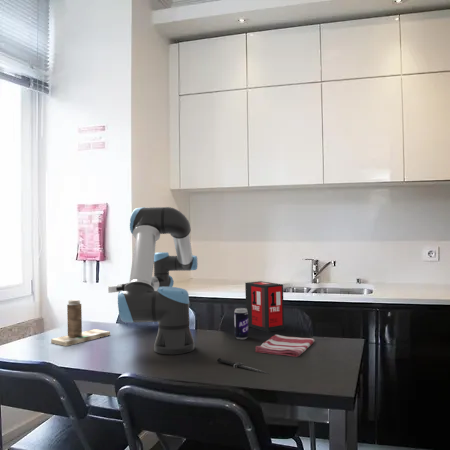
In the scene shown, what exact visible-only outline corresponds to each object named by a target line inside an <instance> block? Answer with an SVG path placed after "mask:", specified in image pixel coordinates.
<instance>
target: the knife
mask: <svg viewBox="0 0 450 450" xmlns="http://www.w3.org/2000/svg"><path fill="white" fill-rule="evenodd" d="M216 359H217V362H218V363H223V364H227V365H230V366H233V368H234V369H236V368H241V369H245V370H249V371H252V372H256V373H260V374H266V375H270V373H269V372H267V371H263V370H260V369H257V368H254V367H252V366H251V367H250V366H246V365H244V362H233V361H230V360H227V359H223V358H221V357H218V358H216Z"/></svg>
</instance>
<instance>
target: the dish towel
mask: <svg viewBox="0 0 450 450" xmlns="http://www.w3.org/2000/svg"><path fill="white" fill-rule="evenodd" d="M315 342H316V340H315V338H310V337H298V336H297V337H296V336H285V335H280V334H274V335H273V336H271V337H270V338H268V339H267V340H265V341H264V342H263V343H262V344H261V345H256V346H255V351H254V352H255V353H260V354H261V353H262V354H270V355H279V356H289V357H295V358H297V357H300V356H301V354H303V353H304V352H305V351H306V350H308V348H309V347H311V346H312V345H313V344H314V343H315Z"/></svg>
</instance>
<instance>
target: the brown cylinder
mask: <svg viewBox="0 0 450 450" xmlns="http://www.w3.org/2000/svg"><path fill="white" fill-rule="evenodd" d="M67 302H68V303H67V304H66V305H67V306H66V307H67V308H66V309H67V335H68V337H73V338H74V337H83V336H82V332H83V330H82V329H83V327H82V324H83V323H82V321H83V320H82V319H83V318H82V312H83V311H82V303H81V299H70V300H68V301H67Z"/></svg>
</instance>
